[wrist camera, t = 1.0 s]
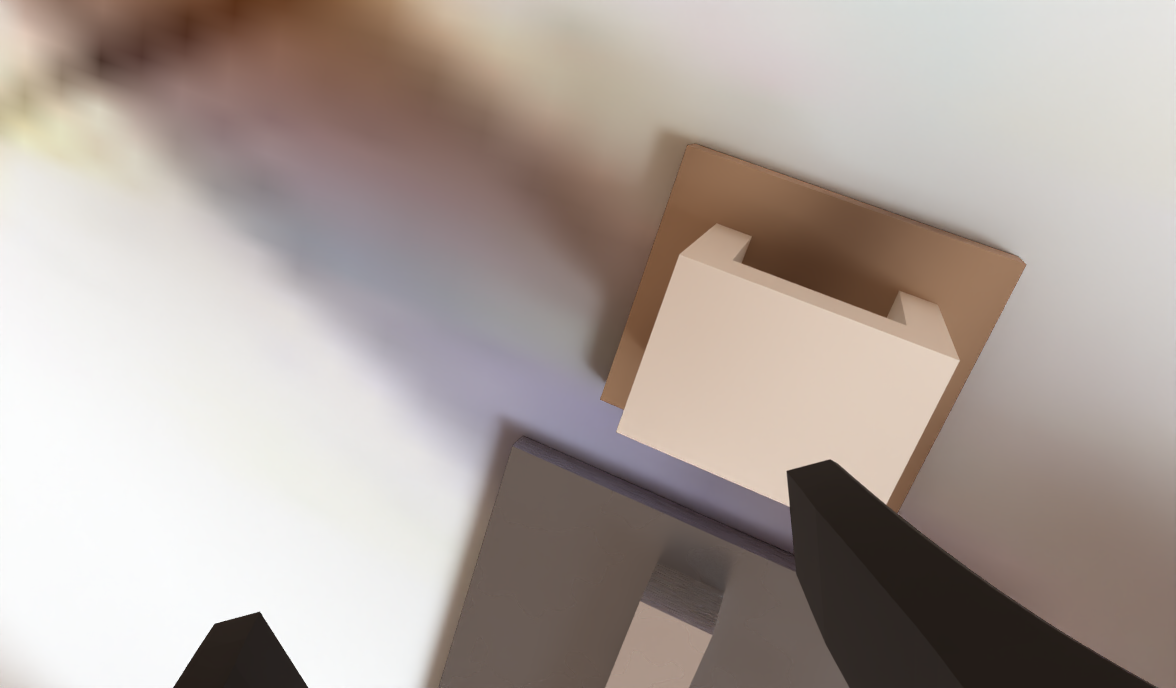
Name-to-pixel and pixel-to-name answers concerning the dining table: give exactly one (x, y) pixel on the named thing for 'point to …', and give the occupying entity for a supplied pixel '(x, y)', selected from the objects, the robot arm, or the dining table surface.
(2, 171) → the dining table surface
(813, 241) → the brown square backing plate
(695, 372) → the u clip
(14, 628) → the dining table surface
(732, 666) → the rack
